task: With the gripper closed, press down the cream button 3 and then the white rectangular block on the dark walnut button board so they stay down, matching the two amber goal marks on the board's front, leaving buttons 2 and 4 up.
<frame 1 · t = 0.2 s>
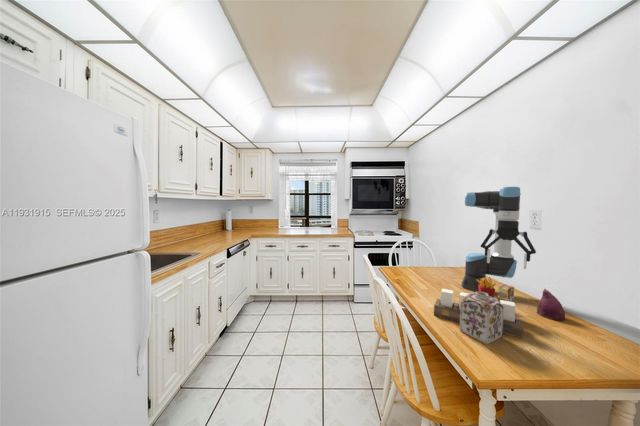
hand: (505, 265, 112), 27 cm above the table, fingers open, 13 cm apart
french fries: (483, 303, 136), on the table
board: (474, 321, 114), on the table
vegetable: (550, 316, 122), on the table
button 3: (485, 306, 112), point 8 cm above the table, slide at 0.0 cm
button 2: (465, 301, 116), point 8 cm above the table, slide at 0.0 cm
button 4: (507, 310, 107), point 8 cm above the table, slide at 0.0 cm
candy box: (504, 317, 119), on the table
decorative jar: (480, 334, 103), on the table, touching board
white rectangular block 1: (447, 297, 121), point 8 cm above the table, slide at 0.0 cm
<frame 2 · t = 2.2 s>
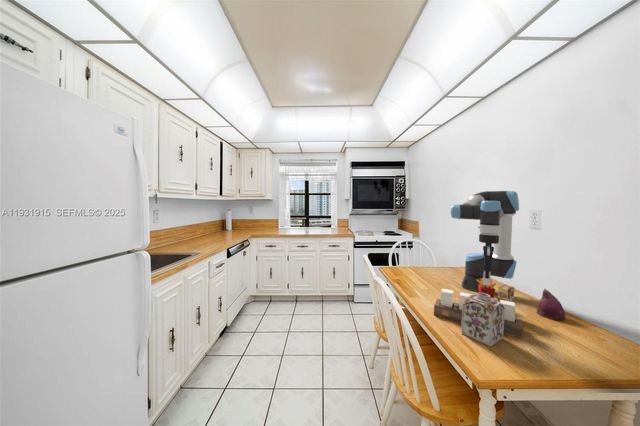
hand: (486, 284, 111), 19 cm above the table, fingers closed
decorative jar: (481, 336, 101), on the table
everything else where it was.
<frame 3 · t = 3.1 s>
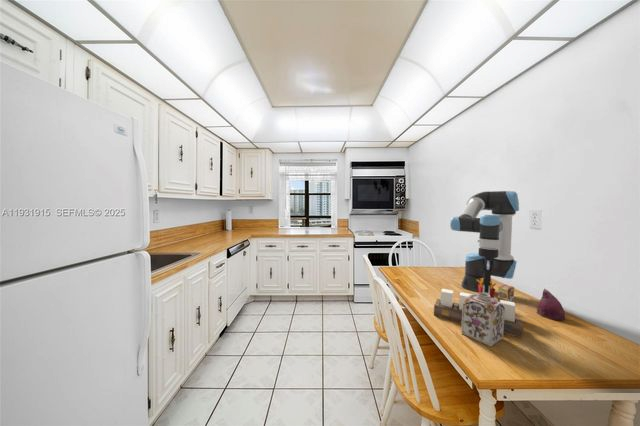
hand: (485, 298, 111), 12 cm above the table, fingers closed
button 3: (485, 306, 112), point 8 cm above the table, slide at 0.1 cm, touching gripper
everything else where it was.
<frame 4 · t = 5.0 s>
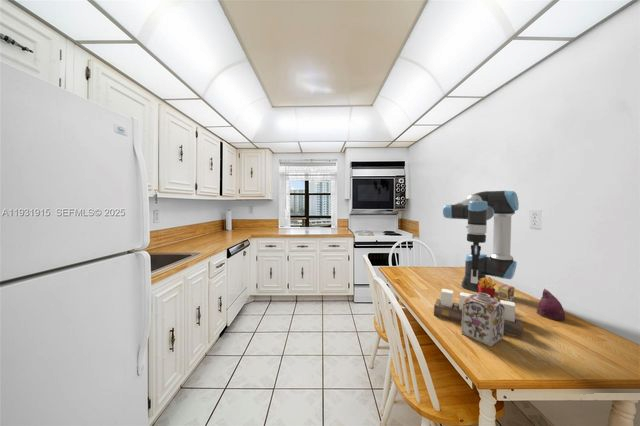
hand: (474, 282, 114), 18 cm above the table, fingers closed
button 3: (485, 314, 112), point 4 cm above the table, slide at 4.1 cm
everything else where it was.
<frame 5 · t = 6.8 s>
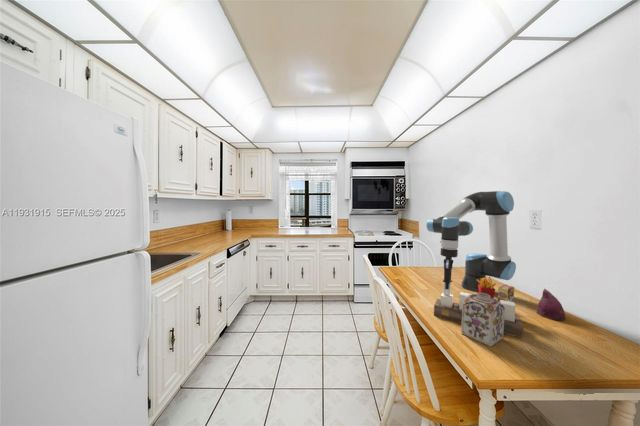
hand: (446, 294, 120), 10 cm above the table, fingers closed
white rectangular block 1: (446, 302, 121), point 6 cm above the table, slide at 2.2 cm, touching gripper
everything else where it was.
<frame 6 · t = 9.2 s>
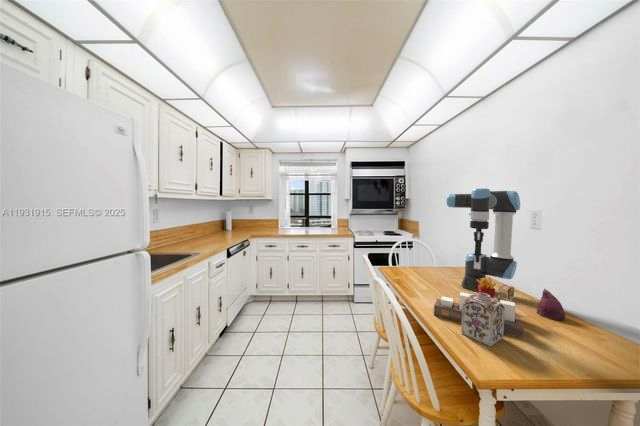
hand: (477, 268, 117), 24 cm above the table, fingers closed
white rectangular block 1: (446, 305, 121), point 4 cm above the table, slide at 4.1 cm
everything else where it was.
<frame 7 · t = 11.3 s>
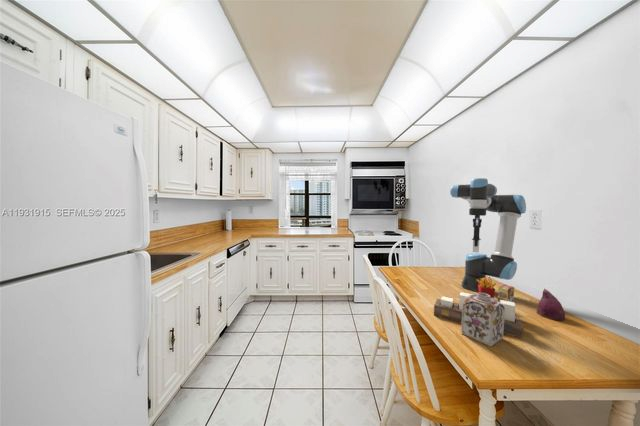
hand: (475, 252, 128), 30 cm above the table, fingers closed
nothing on the table moved.
at the end: button 3 slide at 4.1 cm; white rectangular block 1 slide at 4.1 cm; button 2 slide at 0.0 cm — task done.
